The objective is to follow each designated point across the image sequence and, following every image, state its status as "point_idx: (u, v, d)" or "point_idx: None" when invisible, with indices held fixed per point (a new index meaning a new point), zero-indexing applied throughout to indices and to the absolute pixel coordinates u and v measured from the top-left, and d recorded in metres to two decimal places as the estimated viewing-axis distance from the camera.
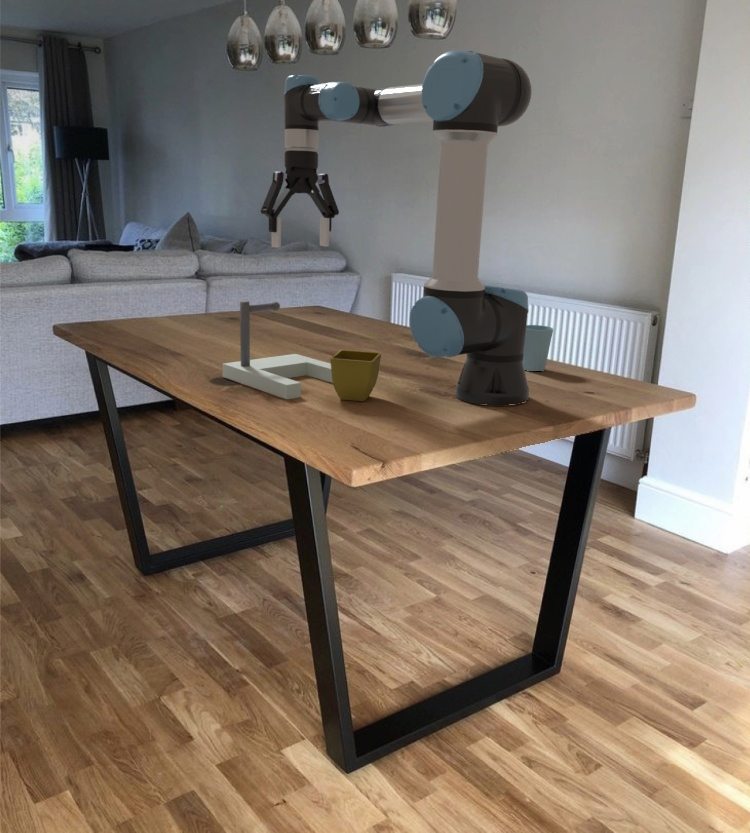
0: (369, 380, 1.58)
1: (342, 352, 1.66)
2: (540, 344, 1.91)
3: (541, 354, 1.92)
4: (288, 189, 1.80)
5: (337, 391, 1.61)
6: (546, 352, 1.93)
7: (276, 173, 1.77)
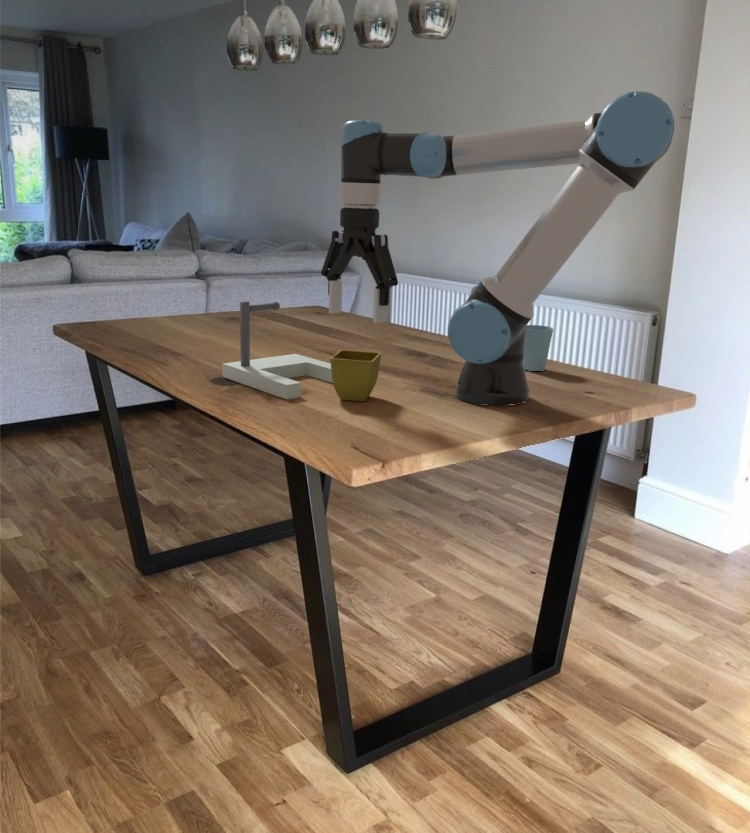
0: (369, 380, 1.58)
1: (342, 352, 1.66)
2: (540, 344, 1.91)
3: (541, 354, 1.92)
4: None
5: (337, 391, 1.61)
6: (546, 352, 1.93)
7: None
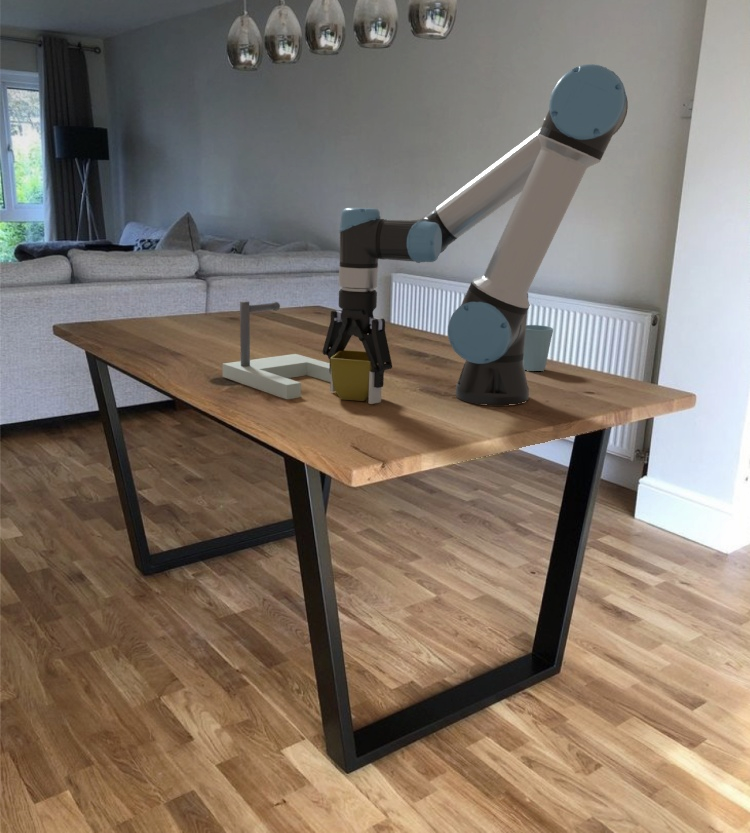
0: None
1: (342, 352, 1.66)
2: (540, 344, 1.91)
3: (541, 354, 1.92)
4: None
5: (337, 391, 1.61)
6: (546, 352, 1.93)
7: None
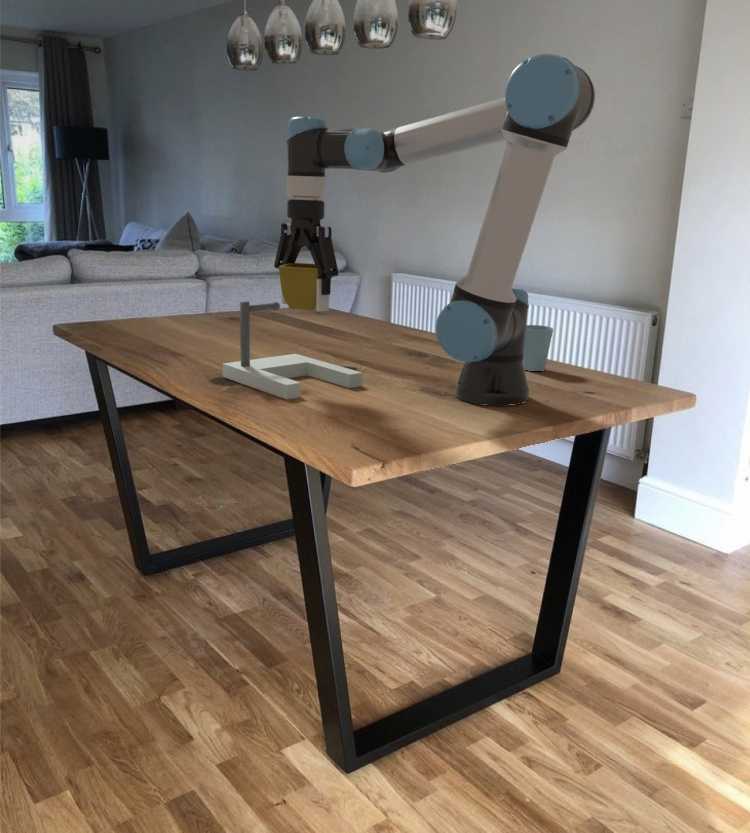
0: (316, 288, 1.62)
1: (293, 265, 1.70)
2: (540, 344, 1.91)
3: (541, 354, 1.92)
4: None
5: (286, 300, 1.65)
6: (546, 352, 1.93)
7: None
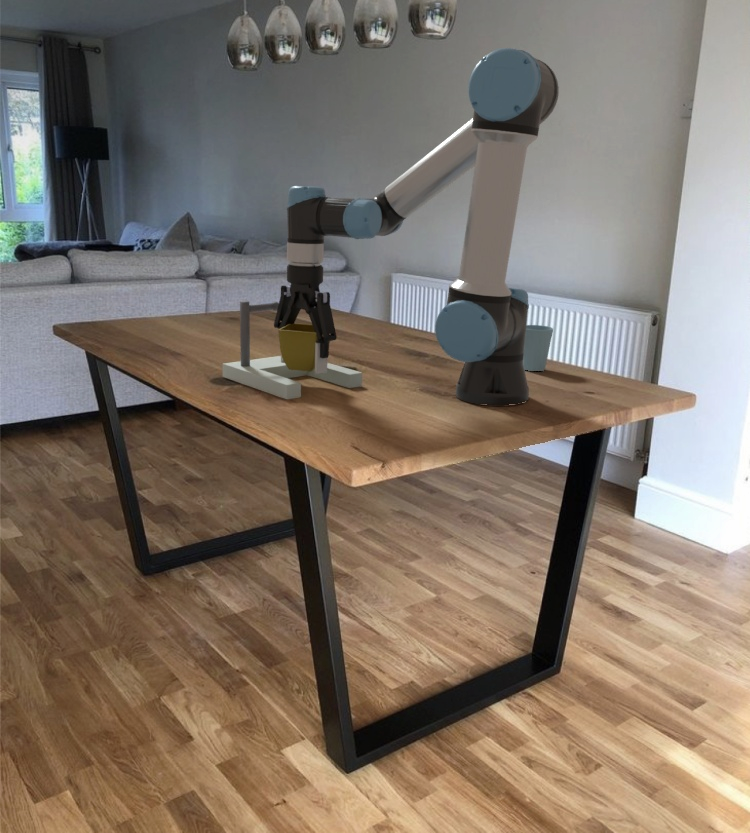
0: None
1: (292, 325, 1.74)
2: (540, 344, 1.91)
3: (541, 354, 1.92)
4: None
5: (285, 361, 1.69)
6: (546, 352, 1.93)
7: None
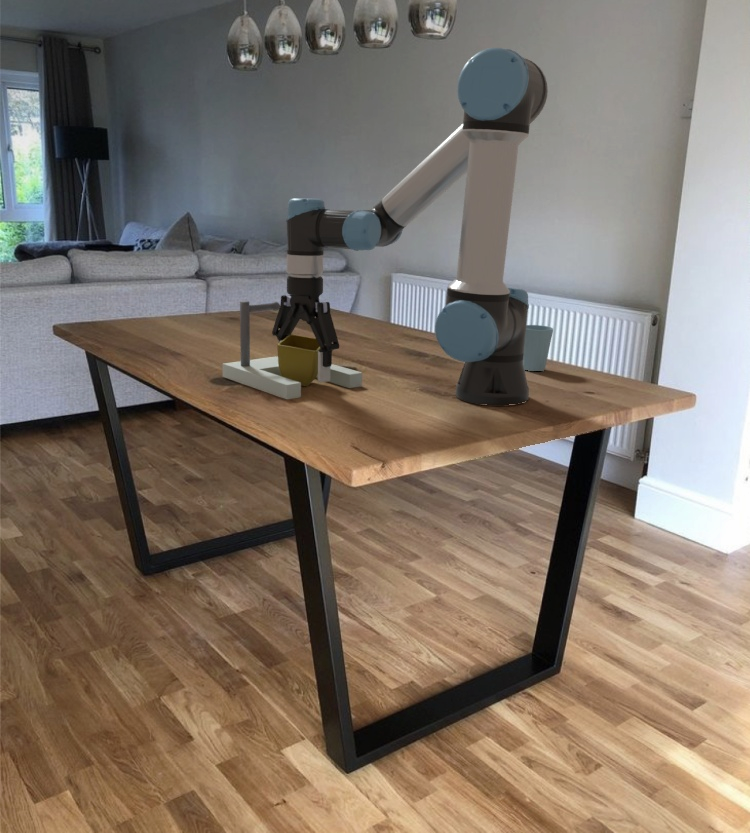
0: (312, 368, 1.68)
1: (291, 336, 1.75)
2: (540, 344, 1.91)
3: (541, 354, 1.92)
4: None
5: (282, 375, 1.70)
6: (546, 352, 1.93)
7: None
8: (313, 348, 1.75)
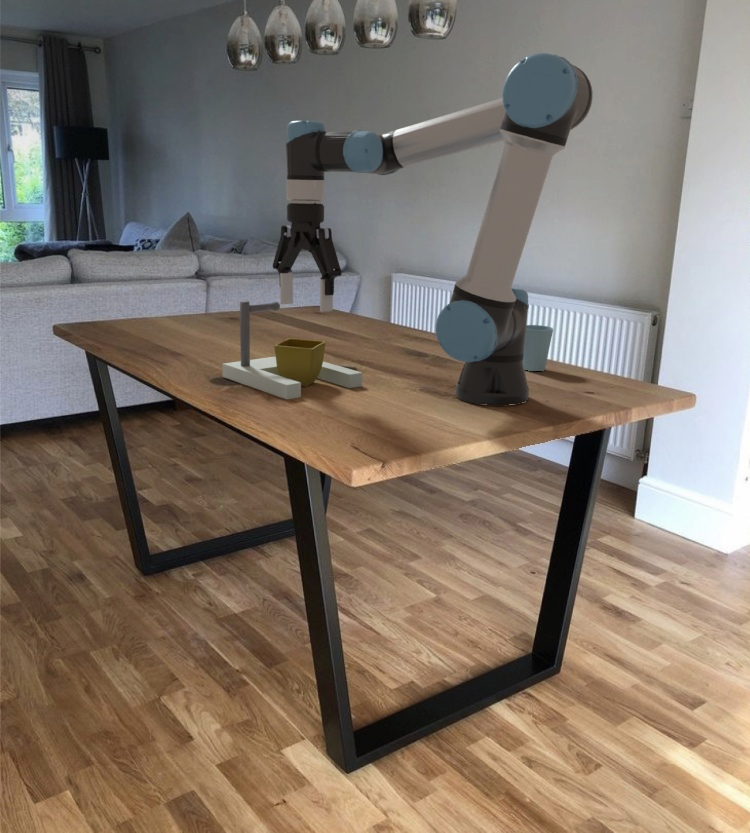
0: (310, 366, 1.68)
1: (290, 340, 1.76)
2: (540, 344, 1.91)
3: (541, 354, 1.92)
4: None
5: None
6: (546, 352, 1.93)
7: None
8: None
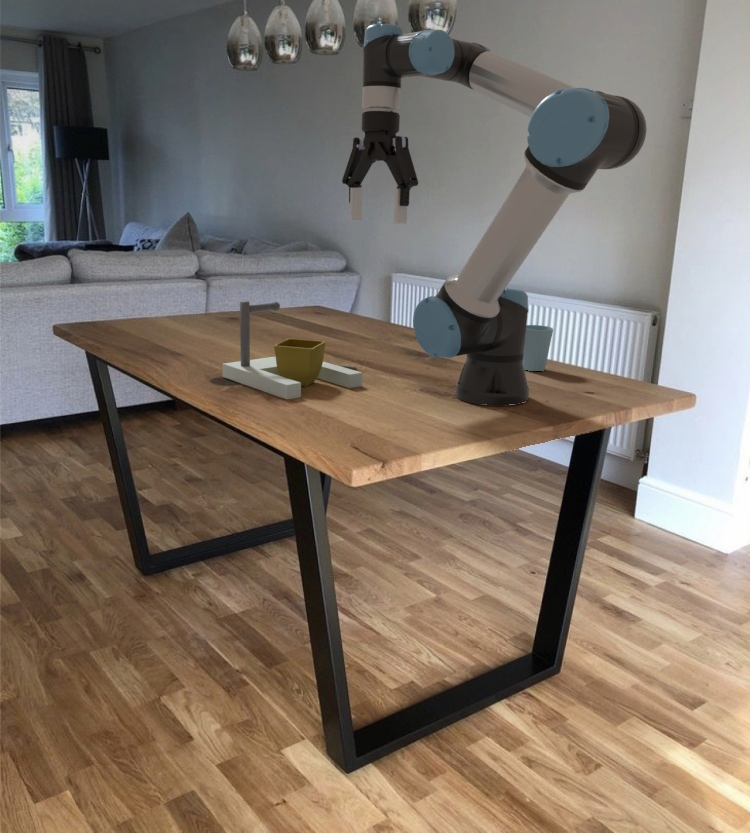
0: (310, 366, 1.68)
1: (290, 340, 1.76)
2: (540, 344, 1.91)
3: (541, 354, 1.92)
4: None
5: None
6: (546, 352, 1.93)
7: None
8: None
